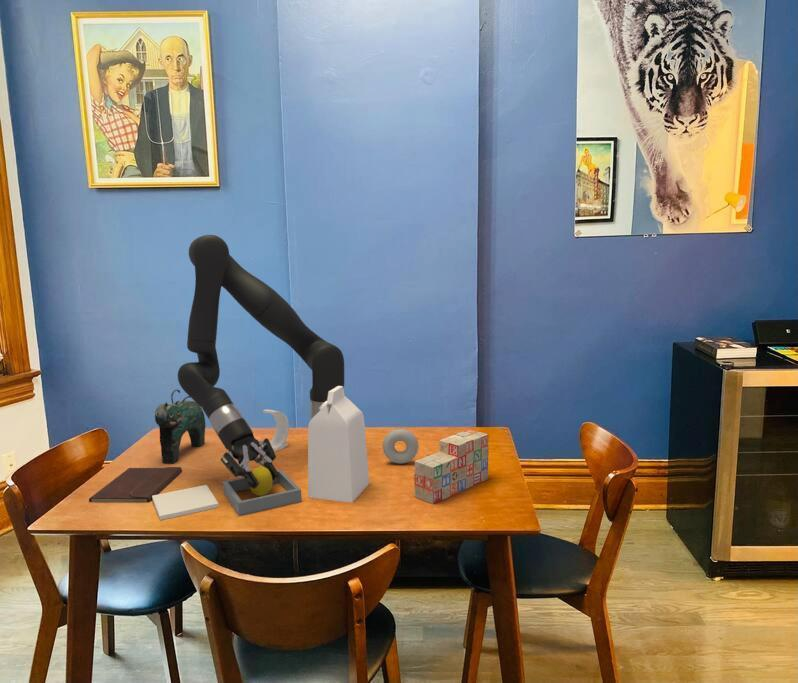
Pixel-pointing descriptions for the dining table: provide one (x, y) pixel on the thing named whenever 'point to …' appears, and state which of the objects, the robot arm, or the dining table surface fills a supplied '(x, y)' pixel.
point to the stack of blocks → (452, 466)
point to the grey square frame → (264, 501)
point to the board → (184, 502)
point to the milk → (337, 450)
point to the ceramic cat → (179, 426)
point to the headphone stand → (279, 430)
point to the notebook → (137, 485)
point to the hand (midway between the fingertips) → (265, 482)
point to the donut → (406, 438)
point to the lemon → (262, 481)
